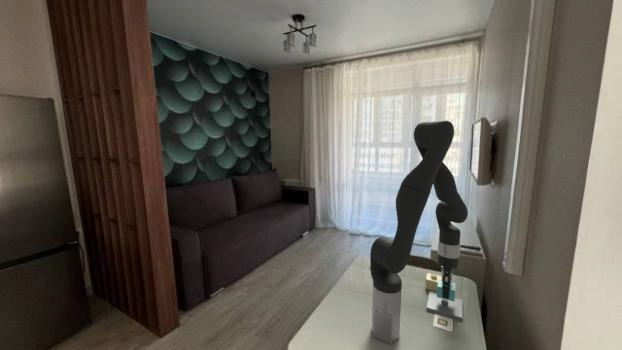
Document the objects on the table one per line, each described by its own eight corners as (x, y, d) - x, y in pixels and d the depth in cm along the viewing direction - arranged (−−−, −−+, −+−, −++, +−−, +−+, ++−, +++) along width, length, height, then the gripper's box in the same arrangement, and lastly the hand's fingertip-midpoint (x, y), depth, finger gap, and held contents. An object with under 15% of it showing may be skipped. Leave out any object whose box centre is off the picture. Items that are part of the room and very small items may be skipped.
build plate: (462, 320, 92) (462, 315, 92) (426, 310, 98) (426, 304, 98) (462, 302, 102) (462, 297, 102) (429, 293, 108) (429, 288, 108)
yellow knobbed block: (440, 292, 109) (441, 280, 108) (425, 288, 112) (425, 277, 111) (441, 285, 114) (442, 274, 113) (426, 281, 117) (427, 270, 116)
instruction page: (452, 332, 87) (452, 331, 87) (433, 326, 90) (433, 325, 90) (452, 319, 93) (452, 319, 93) (434, 314, 96) (434, 313, 96)
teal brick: (454, 301, 95) (455, 288, 95) (436, 297, 98) (437, 283, 98) (454, 293, 100) (455, 280, 100) (437, 289, 103) (438, 276, 103)
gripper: (459, 263, 89) (456, 306, 91) (459, 247, 101) (457, 286, 104) (436, 258, 93) (433, 300, 95) (438, 244, 105) (436, 281, 107)
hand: (445, 293), depth 99 cm, fingers closed on teal brick, 6 cm apart
